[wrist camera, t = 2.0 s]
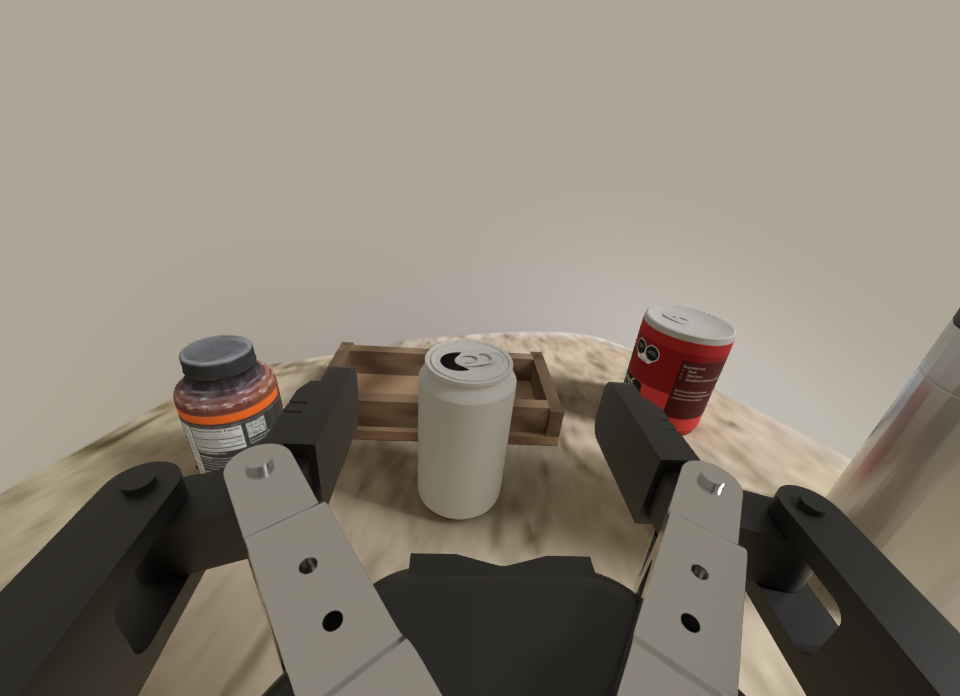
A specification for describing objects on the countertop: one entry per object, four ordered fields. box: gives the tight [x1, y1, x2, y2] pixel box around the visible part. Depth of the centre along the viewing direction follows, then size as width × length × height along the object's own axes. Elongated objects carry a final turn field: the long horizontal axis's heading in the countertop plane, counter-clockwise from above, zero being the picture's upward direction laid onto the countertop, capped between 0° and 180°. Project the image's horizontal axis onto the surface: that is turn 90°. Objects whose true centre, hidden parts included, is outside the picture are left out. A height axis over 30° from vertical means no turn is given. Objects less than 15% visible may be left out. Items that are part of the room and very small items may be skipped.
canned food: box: [624, 305, 736, 435], centre depth 39 cm, size 8×8×11 cm
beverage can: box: [418, 339, 517, 519], centre depth 27 cm, size 6×6×12 cm
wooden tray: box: [319, 342, 564, 446], centre depth 39 cm, size 22×11×4 cm, turn 92°
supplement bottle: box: [173, 335, 283, 474], centre depth 27 cm, size 6×6×11 cm
